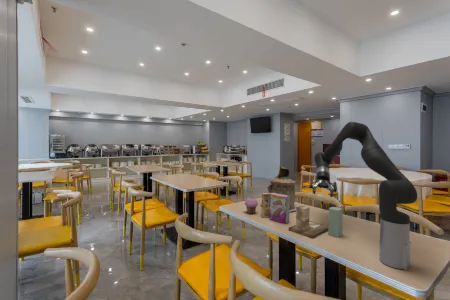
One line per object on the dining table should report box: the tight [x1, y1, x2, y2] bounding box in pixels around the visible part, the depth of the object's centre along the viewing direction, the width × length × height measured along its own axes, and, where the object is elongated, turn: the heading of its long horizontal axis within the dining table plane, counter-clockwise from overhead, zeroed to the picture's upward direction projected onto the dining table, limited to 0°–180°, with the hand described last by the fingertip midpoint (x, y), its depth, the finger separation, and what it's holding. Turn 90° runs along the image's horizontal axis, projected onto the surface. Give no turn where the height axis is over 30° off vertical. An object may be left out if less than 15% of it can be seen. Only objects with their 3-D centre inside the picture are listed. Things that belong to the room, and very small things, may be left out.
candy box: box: [261, 192, 273, 218], centre depth 143 cm, size 9×4×15 cm, turn 98°
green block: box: [327, 206, 344, 239], centre depth 114 cm, size 5×5×14 cm
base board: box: [288, 204, 328, 240], centre depth 120 cm, size 14×19×14 cm
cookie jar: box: [259, 165, 298, 213], centre depth 163 cm, size 25×25×32 cm
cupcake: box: [244, 198, 259, 215], centre depth 149 cm, size 9×9×10 cm
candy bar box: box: [269, 193, 290, 225], centre depth 134 cm, size 11×5×16 cm, turn 47°
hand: (322, 194), depth 120 cm, fingers open, 8 cm apart
